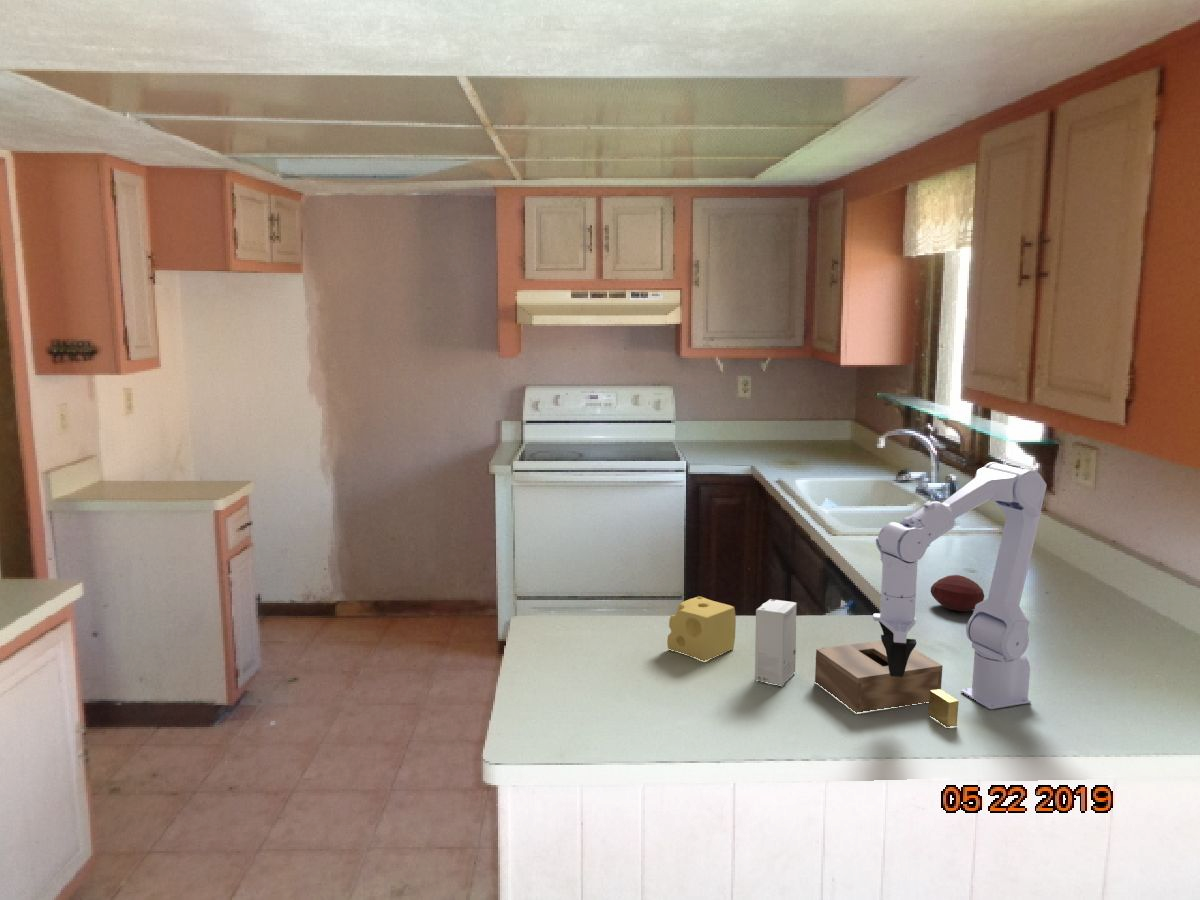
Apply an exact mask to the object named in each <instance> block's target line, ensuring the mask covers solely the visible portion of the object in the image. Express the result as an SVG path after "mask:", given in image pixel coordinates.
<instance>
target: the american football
mask: <svg viewBox="0 0 1200 900" xmlns="http://www.w3.org/2000/svg"><path fill="white" fill-rule="evenodd" d="M930 595H931V596H932V598H934V599H935V601H936V602H937V603H939V605H941V606H942V607H944V608H946V609H949V610H952V611H957V612H970V611H974V609H975V605H976V604H978V603H980V602H982V601H984V600H985V593H984V590H983V588H982V587H981V586H980V585H979V584H978V583H977V582H975V581H974V580H972V579H971V578H968V577H966V576H963V575H960V574H952V575H951V574H950V575H947V576H945V577H942V578H940V579H938V580H936V581H935V582H934V583H933V584H932V585H931V586H930Z"/></svg>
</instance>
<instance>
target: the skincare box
mask: <svg viewBox="0 0 1200 900" xmlns="http://www.w3.org/2000/svg"><path fill="white" fill-rule="evenodd" d="M797 605H798V603H797V602H794V601H787V600H780V599H771V598H770V599H768V600H767V601H766V602H764V603H762V604H761V605H760V606H759V607H758V608H756V610H755V642H754V643H755V650H754V651H755V652H754V653H755V655H754V657H755V658H754V681H755V680H758V681H763V682H768V683H772V684H777V685H781V686H783V685H785V684H786V683H787V682H788V680H789V679H790V678H791V677H792V676H793V675H792V674H793V673H794V672H795V673H796V660H797V659H796V654H797V651H796V649H797V647H796V646H797ZM791 675H792V676H791ZM790 676H791V677H790ZM789 677H790V678H789ZM788 678H789V679H788ZM787 679H788V680H787ZM786 681H787V682H786ZM785 682H786V683H785ZM784 683H785V684H784ZM783 687H784V686H783Z"/></svg>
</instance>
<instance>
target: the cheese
mask: <svg viewBox="0 0 1200 900" xmlns="http://www.w3.org/2000/svg"><path fill="white" fill-rule="evenodd" d="M736 619H737V617H736V610H735V606H733V605H730V604H726V603H724V602H723V603H722V602H719V601H714V600H711V599H708V598H706V597H703V596H699V595H698V596H696V597H693V598H689V599H687V600H684V601H682V602H680V603H679V604H678V608H677V611H676V612H675V614H671V616H670V618H669V621H668V627H669V629H670V633H669V634H668V635H667V649H668V650H669V649H671V650H674V651H678V652H681V653H684V654H687V655H689V656H692V657H696V658H698V659H700V660H703V661H705V660H708V659H710V658H713V657H715V656H717V655H720V654H722V653H725V652H727V651H729V652H731V651H733V650H734V647H735V639H736V622H737V621H736ZM732 649H733V650H732ZM730 650H731V651H730ZM727 653H728V652H727ZM725 654H726V653H725Z"/></svg>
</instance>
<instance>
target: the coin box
mask: <svg viewBox="0 0 1200 900" xmlns="http://www.w3.org/2000/svg"><path fill="white" fill-rule="evenodd" d="M815 650H816V651H815V667H814V669H815V671H814V672H815V673H814V677H815V678H814V683H815V682H816V683H818V684H819V685H820V686H822V687H823V688H824V689H826V690H827V691H828V692H830V693H831V694H833V695H834V696H835V697H837V698H838V699H839V700H840V701H842V702H843V703H844V704H846V705H847V706H848V707H849V708H851V709H852V710H853V711H855V712H856V713H857V712H863V711H870V710H877V709H884V708H891V707H899V706H905V705H912V704H918V703H924V702H925V703H926V702H930V690H937V689H940V690H942V681H943V680H942V679H943V664H941V663H939V662H938V661H935V660H934V659H932V658H930V657H928V656H927V655H925V654H923V652H920V651H918V650H916V649H915V648H914V649H913V650H912V652H911V654H910V656H909V658H908V661H907V665H906V669H905V672H904V675H903V677H896V676H890V673H889V667H888V658H887V654H886V649H885V647H884V645H883V643H882V640H881V639H880V640H875V641H868V642H861V643H859V642H858V643H853V644H845V645H837V646H830V647H823V648H816V649H815ZM926 704H927V703H926Z"/></svg>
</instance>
